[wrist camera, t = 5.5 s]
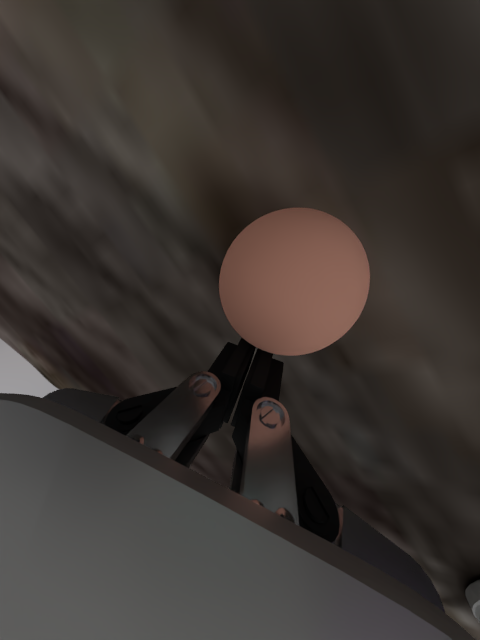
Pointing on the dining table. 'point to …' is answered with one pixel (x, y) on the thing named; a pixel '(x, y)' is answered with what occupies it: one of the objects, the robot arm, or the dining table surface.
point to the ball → (294, 281)
